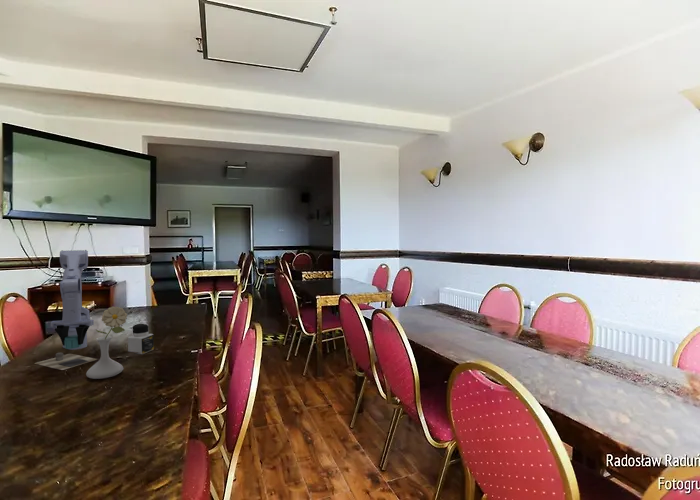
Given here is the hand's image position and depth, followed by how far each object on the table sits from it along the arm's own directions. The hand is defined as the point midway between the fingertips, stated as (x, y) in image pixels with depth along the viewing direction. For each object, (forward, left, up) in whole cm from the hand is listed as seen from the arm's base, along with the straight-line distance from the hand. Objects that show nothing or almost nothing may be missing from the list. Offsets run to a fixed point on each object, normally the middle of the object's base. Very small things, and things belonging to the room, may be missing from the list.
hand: (73, 344), depth 147 cm
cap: (0, 0, -1) cm, 1 cm away
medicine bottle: (+8, +23, -8) cm, 26 cm away
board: (-5, 0, -8) cm, 9 cm away
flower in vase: (+22, -1, -8) cm, 24 cm away
